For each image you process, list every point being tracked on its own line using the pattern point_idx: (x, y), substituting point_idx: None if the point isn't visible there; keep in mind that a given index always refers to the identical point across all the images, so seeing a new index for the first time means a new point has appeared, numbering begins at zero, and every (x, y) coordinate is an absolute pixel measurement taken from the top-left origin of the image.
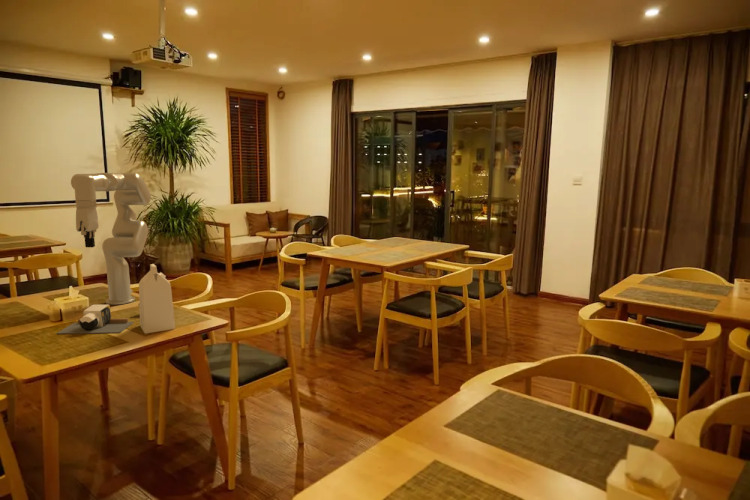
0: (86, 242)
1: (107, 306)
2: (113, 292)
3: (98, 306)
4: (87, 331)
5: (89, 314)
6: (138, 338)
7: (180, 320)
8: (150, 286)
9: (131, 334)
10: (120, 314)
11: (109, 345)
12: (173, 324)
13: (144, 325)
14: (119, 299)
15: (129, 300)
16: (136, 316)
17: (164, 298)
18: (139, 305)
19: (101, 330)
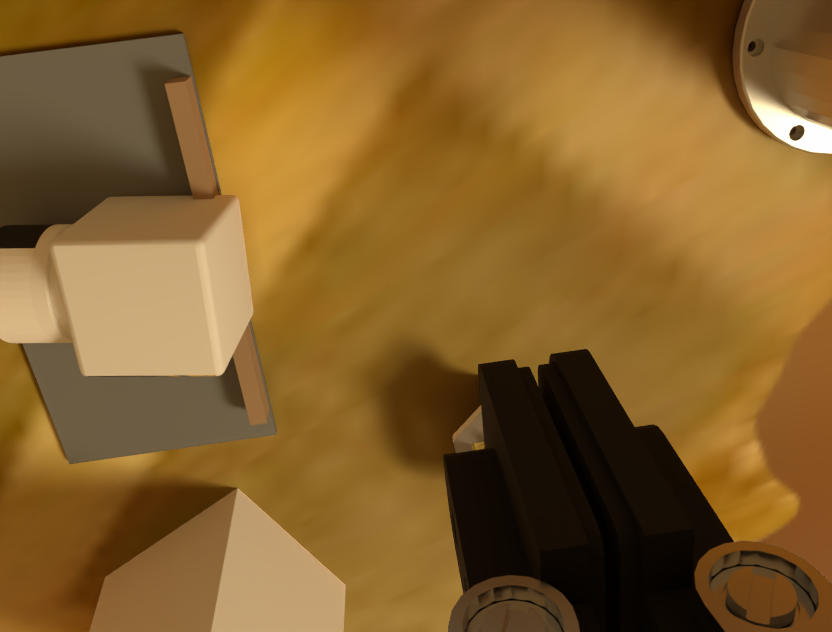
0: (453, 514)
1: (190, 375)
2: (824, 39)
3: (164, 315)
4: None
5: (25, 315)
6: (22, 587)
7: (360, 628)
8: None
9: (71, 526)
10: (459, 247)
11: None
12: None
13: (94, 614)
14: (783, 80)
15: (797, 144)
16: (417, 377)
17: None
18: (473, 414)
19: (68, 345)
